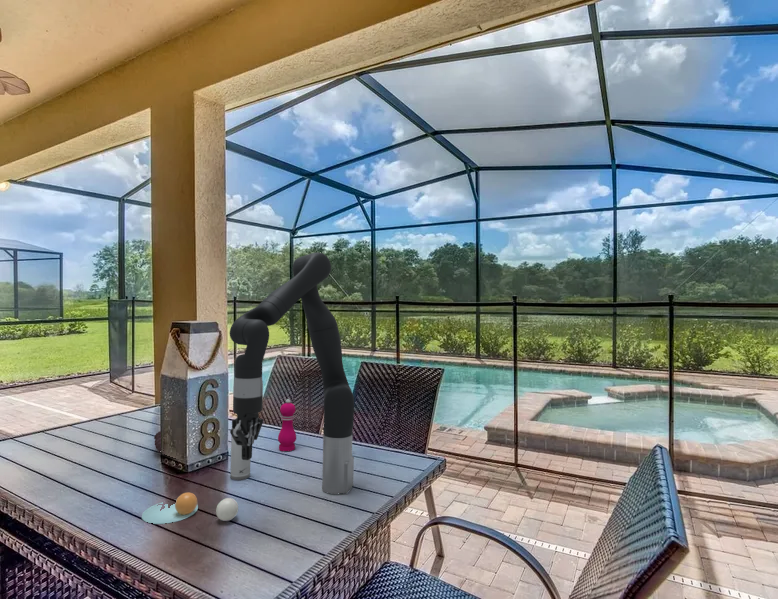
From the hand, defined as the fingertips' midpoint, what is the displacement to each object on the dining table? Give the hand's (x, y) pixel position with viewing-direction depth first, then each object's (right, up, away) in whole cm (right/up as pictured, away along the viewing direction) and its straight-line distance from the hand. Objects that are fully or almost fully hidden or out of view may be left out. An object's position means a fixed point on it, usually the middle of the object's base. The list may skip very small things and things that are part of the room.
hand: (246, 458), depth 117 cm
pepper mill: (-3, -18, +59) cm, 62 cm away
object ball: (-18, -14, +4) cm, 23 cm away
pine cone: (-46, -17, +51) cm, 70 cm away
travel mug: (-12, -17, +30) cm, 37 cm away
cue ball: (-6, -14, +1) cm, 15 cm away
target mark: (-23, -17, +5) cm, 29 cm away
